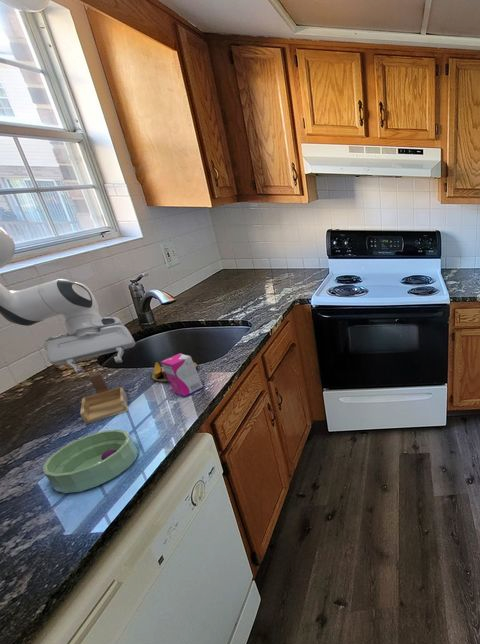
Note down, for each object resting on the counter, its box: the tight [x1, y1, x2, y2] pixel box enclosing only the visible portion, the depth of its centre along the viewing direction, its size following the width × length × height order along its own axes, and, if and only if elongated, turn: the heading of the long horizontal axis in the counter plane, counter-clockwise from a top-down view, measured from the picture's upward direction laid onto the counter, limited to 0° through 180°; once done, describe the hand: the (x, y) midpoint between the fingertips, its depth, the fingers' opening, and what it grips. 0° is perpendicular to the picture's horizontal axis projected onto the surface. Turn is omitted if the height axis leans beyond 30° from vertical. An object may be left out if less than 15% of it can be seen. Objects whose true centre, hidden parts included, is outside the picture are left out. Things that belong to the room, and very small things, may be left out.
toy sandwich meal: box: [151, 361, 198, 383], centre depth 121 cm, size 12×14×5 cm
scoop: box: [79, 371, 129, 425], centre depth 104 cm, size 12×9×9 cm
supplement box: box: [160, 353, 204, 398], centre depth 110 cm, size 6×6×12 cm
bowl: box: [42, 429, 139, 494], centre depth 82 cm, size 14×14×6 cm
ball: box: [101, 449, 116, 460], centre depth 84 cm, size 3×3×3 cm
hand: (99, 367), depth 114 cm, fingers open, 8 cm apart
